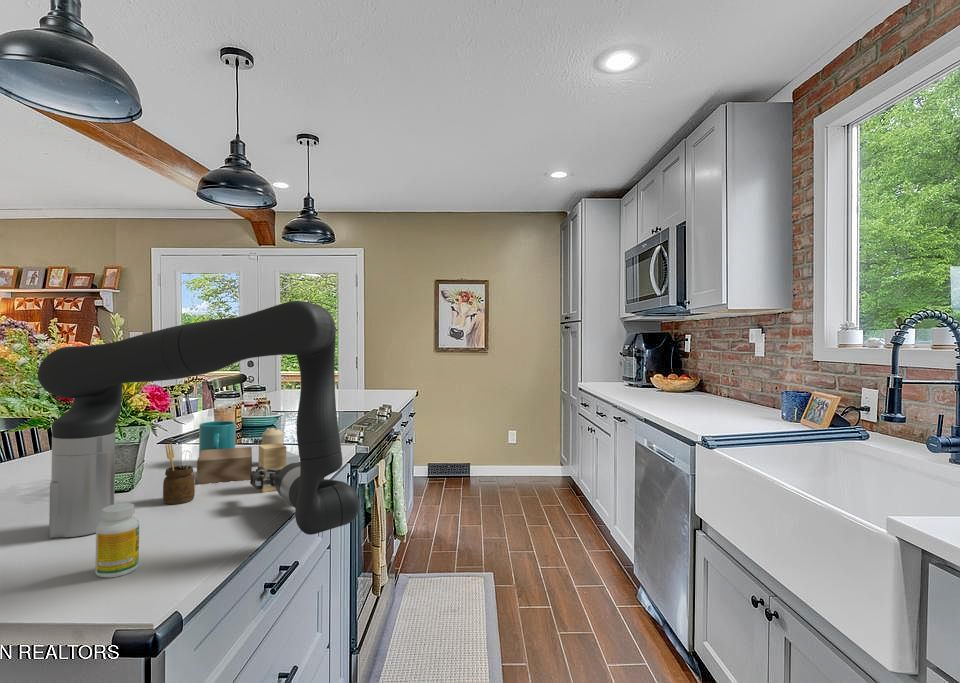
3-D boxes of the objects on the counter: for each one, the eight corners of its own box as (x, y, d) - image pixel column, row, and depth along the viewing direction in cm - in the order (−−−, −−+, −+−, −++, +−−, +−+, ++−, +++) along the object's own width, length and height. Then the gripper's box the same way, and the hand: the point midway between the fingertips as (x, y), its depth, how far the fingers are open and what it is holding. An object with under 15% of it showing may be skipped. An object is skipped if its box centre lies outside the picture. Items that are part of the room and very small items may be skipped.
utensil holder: (177, 506, 109) (178, 448, 109) (155, 502, 111) (155, 446, 111) (201, 498, 115) (201, 443, 115) (179, 495, 117) (179, 441, 117)
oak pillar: (263, 492, 120) (263, 449, 120) (258, 487, 124) (258, 445, 124) (285, 489, 122) (286, 446, 122) (280, 484, 127) (280, 443, 127)
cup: (196, 471, 138) (196, 428, 138) (200, 461, 149) (201, 421, 149) (234, 468, 142) (234, 426, 142) (235, 458, 153) (236, 420, 153)
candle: (275, 466, 144) (275, 430, 144) (257, 465, 145) (257, 429, 145) (286, 462, 149) (287, 427, 149) (269, 461, 150) (269, 426, 150)
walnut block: (196, 486, 125) (197, 460, 125) (201, 473, 137) (201, 450, 137) (251, 481, 130) (251, 457, 130) (251, 469, 142) (251, 446, 142)
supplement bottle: (91, 570, 79) (92, 506, 79) (133, 560, 83) (134, 499, 83) (100, 582, 75) (101, 515, 75) (143, 570, 79) (144, 507, 79)
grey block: (272, 479, 132) (272, 459, 132) (260, 474, 137) (260, 455, 137) (298, 474, 137) (299, 455, 137) (286, 469, 142) (286, 451, 142)
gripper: (335, 462, 108) (311, 448, 122) (262, 471, 100) (245, 455, 114) (335, 498, 108) (311, 480, 122) (262, 510, 100) (245, 490, 114)
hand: (279, 468), depth 118 cm, fingers open, 8 cm apart
